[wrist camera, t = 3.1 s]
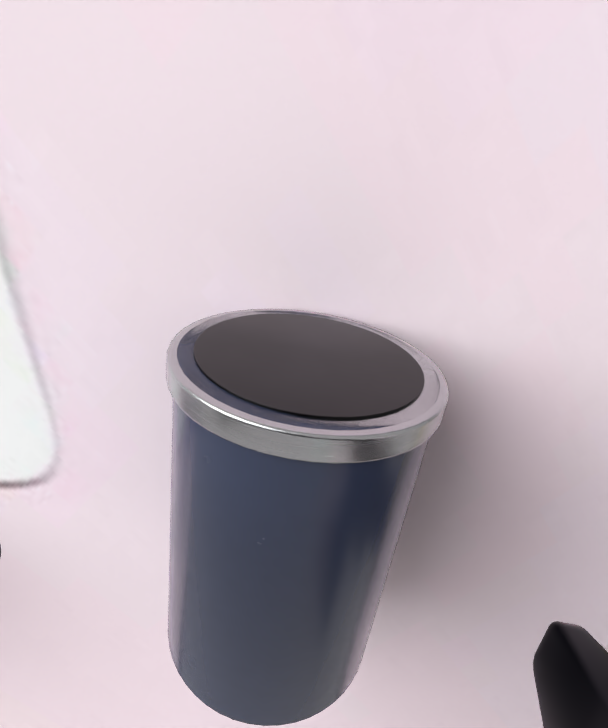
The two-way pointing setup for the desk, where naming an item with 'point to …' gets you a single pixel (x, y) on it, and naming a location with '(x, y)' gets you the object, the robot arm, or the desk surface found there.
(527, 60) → the desk surface
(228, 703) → the navy blue tumbler
